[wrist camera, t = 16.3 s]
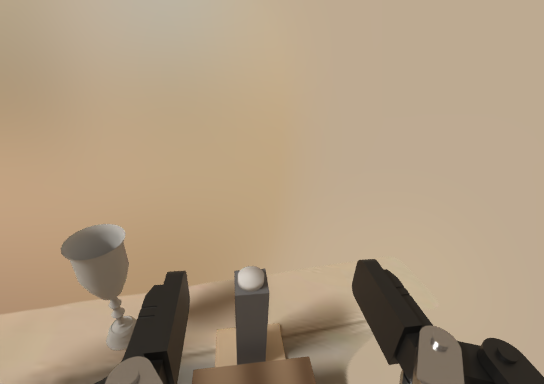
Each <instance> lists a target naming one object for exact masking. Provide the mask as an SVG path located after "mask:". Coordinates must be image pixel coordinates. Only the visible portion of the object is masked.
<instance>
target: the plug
mask: <svg viewBox="0 0 544 384" xmlns="http://www.w3.org/2000/svg"><path fill="white" fill-rule="evenodd" d="M234 273H235V315H236V349H237V365H240V364H249V363H257V362H266V344H267V325H268V306H269V289H268V282H267V276H266V270H265V269H260V268H258V267H255V266H248V267H245V268H243V269H241V270H240V271H235V272H234Z"/></svg>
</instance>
